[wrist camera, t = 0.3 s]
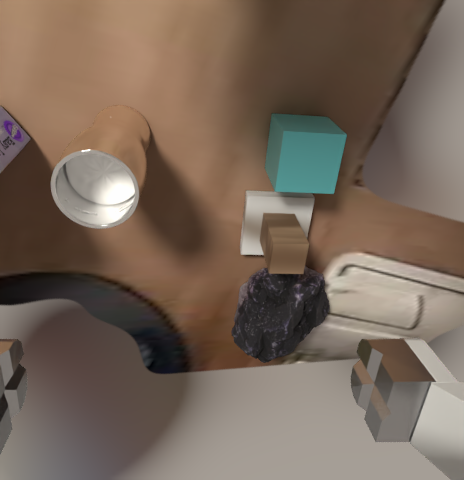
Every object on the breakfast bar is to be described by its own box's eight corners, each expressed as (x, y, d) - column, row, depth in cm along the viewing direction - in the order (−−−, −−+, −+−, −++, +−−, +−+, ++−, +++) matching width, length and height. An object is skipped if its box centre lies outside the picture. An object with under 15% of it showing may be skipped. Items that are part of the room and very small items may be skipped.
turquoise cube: (271, 113, 45) (283, 131, 39) (327, 116, 46) (347, 134, 40) (264, 167, 48) (274, 191, 43) (316, 170, 49) (333, 193, 43)
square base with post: (245, 190, 49) (255, 225, 42) (311, 193, 50) (332, 227, 43) (239, 248, 53) (247, 288, 46) (300, 249, 54) (318, 289, 47)
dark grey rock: (339, 262, 57) (362, 302, 48) (312, 340, 63) (327, 390, 54) (243, 245, 56) (249, 284, 47) (224, 327, 61) (225, 376, 52)
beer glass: (167, 127, 45) (159, 182, 32) (132, 176, 47) (111, 245, 34) (109, 85, 42) (75, 127, 29) (75, 139, 45) (30, 200, 32)
